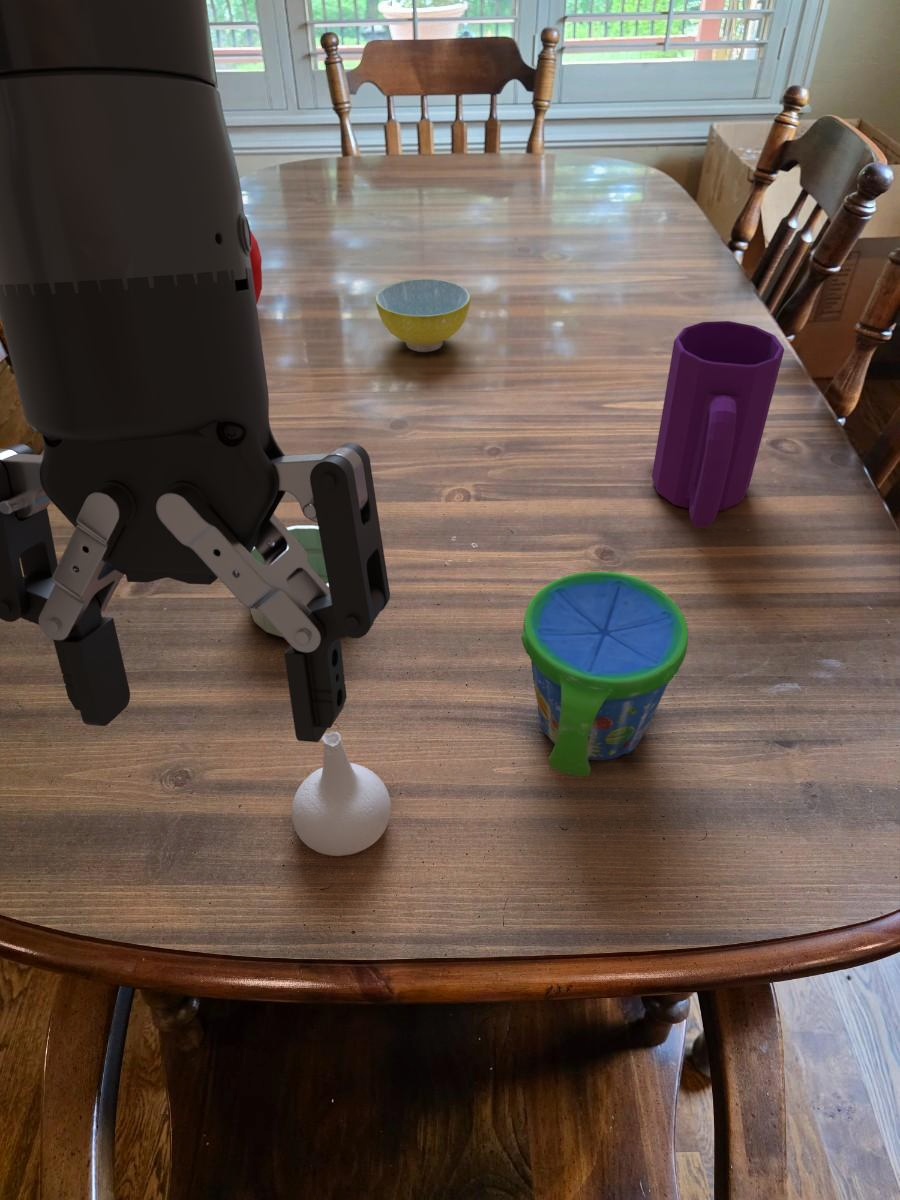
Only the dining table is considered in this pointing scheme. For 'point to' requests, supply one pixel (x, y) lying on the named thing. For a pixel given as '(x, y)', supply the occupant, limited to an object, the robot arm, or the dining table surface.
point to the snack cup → (600, 662)
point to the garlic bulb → (340, 804)
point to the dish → (313, 548)
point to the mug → (714, 415)
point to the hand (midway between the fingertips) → (210, 722)
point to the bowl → (423, 311)
